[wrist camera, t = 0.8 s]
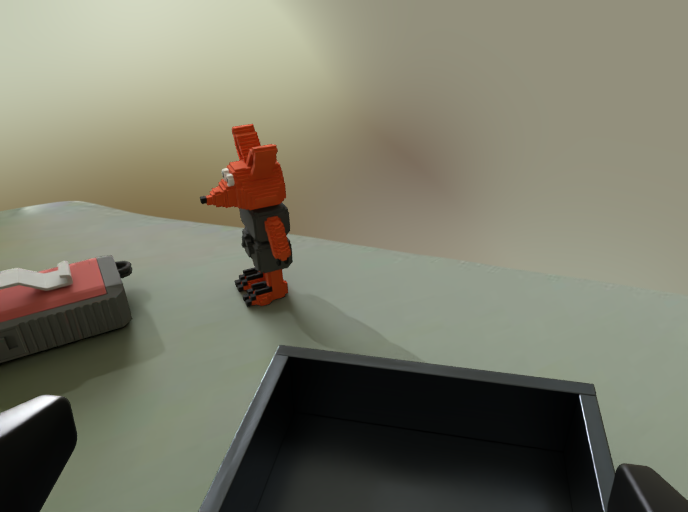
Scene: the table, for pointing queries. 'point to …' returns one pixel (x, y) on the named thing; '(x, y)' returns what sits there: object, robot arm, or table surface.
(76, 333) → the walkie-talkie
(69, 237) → the table surface
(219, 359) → the table surface
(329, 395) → the tray
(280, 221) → the toy animal
